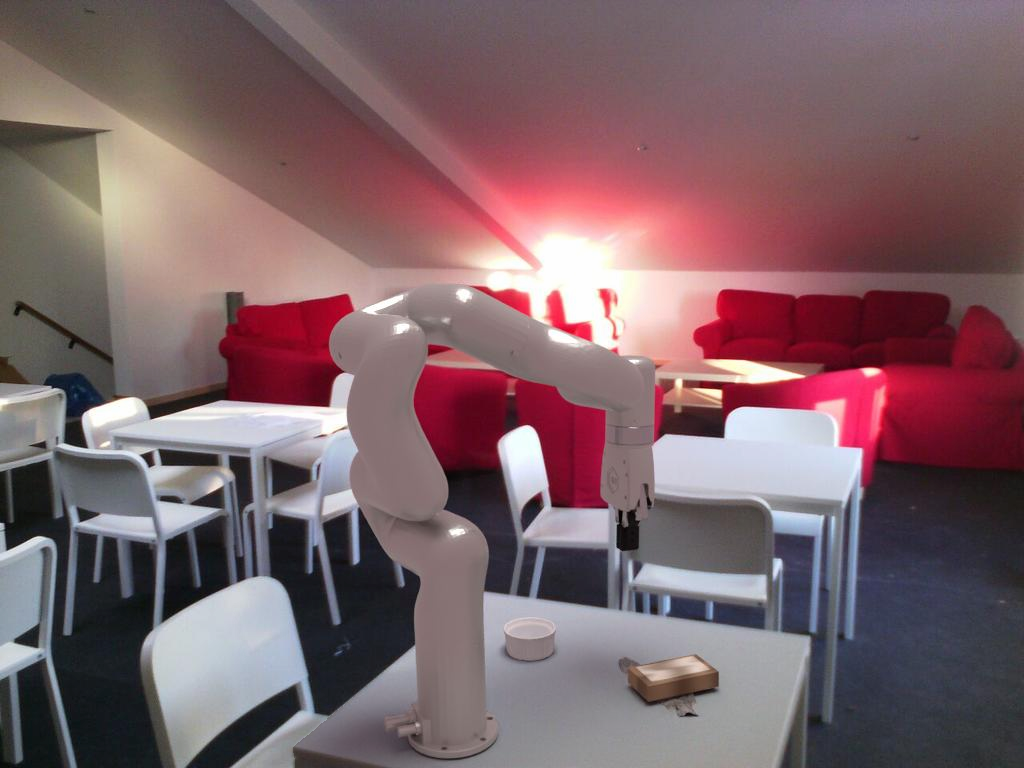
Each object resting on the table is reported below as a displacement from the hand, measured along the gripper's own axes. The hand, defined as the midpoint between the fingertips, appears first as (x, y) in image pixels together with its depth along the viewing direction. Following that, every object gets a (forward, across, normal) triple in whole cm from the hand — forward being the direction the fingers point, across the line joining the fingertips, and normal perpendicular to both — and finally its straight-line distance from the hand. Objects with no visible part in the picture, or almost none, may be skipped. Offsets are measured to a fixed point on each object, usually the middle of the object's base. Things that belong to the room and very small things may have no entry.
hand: (627, 548), depth 139 cm
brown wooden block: (+18, +6, +3) cm, 19 cm away
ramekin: (+20, -12, -12) cm, 26 cm away
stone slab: (+21, +8, +2) cm, 22 cm away
